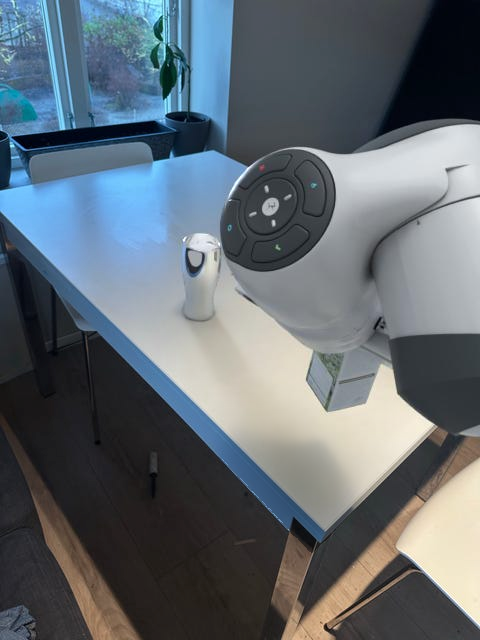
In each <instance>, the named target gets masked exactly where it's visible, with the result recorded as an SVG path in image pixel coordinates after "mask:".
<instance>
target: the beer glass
mask: <svg viewBox="0 0 480 640" xmlns="http://www.w3.org/2000/svg"><path fill="white" fill-rule="evenodd" d="M221 269H222V249H221V244H220V237H217V236H216V235H214V234H209V233H205V232H204V233H203V232H196V233H191V234H188V235H186V236H185V237H184V239H183V245H182V254H181V272H182V281H183V286H184V292H185V294H184V295H185V297H184V302H183V305H182V306H183V307H182V314H183V316H185V317H186V318H187V319H189V320H192V321H196V322H197V321H198V322H203V321H207V320H209V319H212V318H213V317H214V315H215V312H216V311H215V303H214V299H215V298H214V296H215V291H216V288H217V286H218V285H217V284H218V282H219V278H220V274H221Z"/></svg>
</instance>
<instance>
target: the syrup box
mask: <svg viewBox="0 0 480 640" xmlns="http://www.w3.org/2000/svg"><path fill="white" fill-rule="evenodd" d="M381 365H382V364H381V363H379V362H377V361H376V360H374V359H372V358H370V357H368V356H366V355H364V354H362V353H360V352H359V351H357V350H355V349H352V350H350V351H347V352H342V353H335V354H329V353H321V352H317V351H314V350H312V353H311V358H310V360H309V365H308V369H307V373H306V376H305V381H306V383H307V385H308V386H309V388H310V389H311V391H312V392H313V394H314V396H315V397H316V398H317V400H318V401H319V403H320V405H321V406H322V408H323V409H324V411H325V412H326V413H331V412H336V411H341V410H345V409H346V410H347V409H349V408H354V407H358V406H361V405H362V406H363V405H366V403H367V402H368V399H369V396H370V393H371V391H372V388H373V385H374V382H375V380H376V378H377V375H378V373H379V370H380V367H381Z"/></svg>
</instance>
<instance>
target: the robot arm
mask: <svg viewBox="0 0 480 640" xmlns="http://www.w3.org/2000/svg"><path fill="white" fill-rule="evenodd" d="M219 239H220V244H221V254H222V256H223V259H224V261H225V264H226V266H227V267H228V270H229V271H230V273H231V274H233V275H232V276H233V278H234V279H235V281H236V284H235V286H234V291H236V293H238V294H239V295H240V296H241V297H243V298H244V299H246V300H247V301H248V302H250V303H251V304H253V305H255V306H256V307H258V308H259V309H260V310H262V311H263V312H264V313H266V314H267V315H268V316H269V317H271V318H272V319H273V320H274V321H275V322H276V323H277V325H279V326H280V328H282V329H283V330H285V331H286V332H287V333H288V334H289V335H291V336H292V337H293V338H294V339H295V340H297V342H299V344H301V345H302V346H304V347H306V348H307V349H309V350H312V351H313V350H314V351H317V352H321V353H329V354H335V353H342V352H347V351H350V350H352V349H355V350H357V351H359V352H360V353H362V354H364V355H366V356H368V357H370V358H372V359H374V360H376V361H377V362H379V363H381V365H383V366H385V367H386V368H389V369H391V370H392V372H393V378H394V384H395V390H396V394H397V395H398V396H399V397H400V398H401V400H402V401H404V402H405V403H406V404H407V405H408V406H409V407H411V408H412V409H413V410H414V411H415V412H417V413H418V414H419V415H420V416H422V417H423V418H424V419H426V420H427V421H428V422H430V423H432V424H433V425H435V426H436V427H438V428H440V430H441V429H442V431H445V432H446V433H448V434H450V435H452V436H454V437H459V436H467V437H476V438H480V121H479V120H473V119H466V118H441V119H440V118H439V119H430V120H424V121H419V122H415V123H412V124H409V125H405V126H402V127H400V128H396V129H394V130H391V131H388V132H385V133H384V134H382V135H380V136H377V137H375V138H374V139H372V140H370V141H368V142H367V143H366V144H364V145H362V146H360V147H359V148H357V149H356V150H354V151H353V152H351V153H347V154H346V153H345V154H344V153H335V152H334V153H333V152H328V151H325V150H322V149H317V148H313V147H307V146H294V147H286V148H281V149H277V150H276V151H274V152H270V153H269V154H267V155H265V156H264V155H263V156H262V157H260V158H258V159H257V160H256V161H254V162H253V163H252V164H251V165H249V167H247V168H246V169H245V170H244V171H243V172H242V174H241V175H240V176H239V177H238V179H237V180H236V181H235V182H234V184H233V186H232V188H231V189H230V191H229V193H228V195H227V198H226V200H225V202H224V205H223V207H222V212H221V214H220V222H219Z"/></svg>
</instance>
